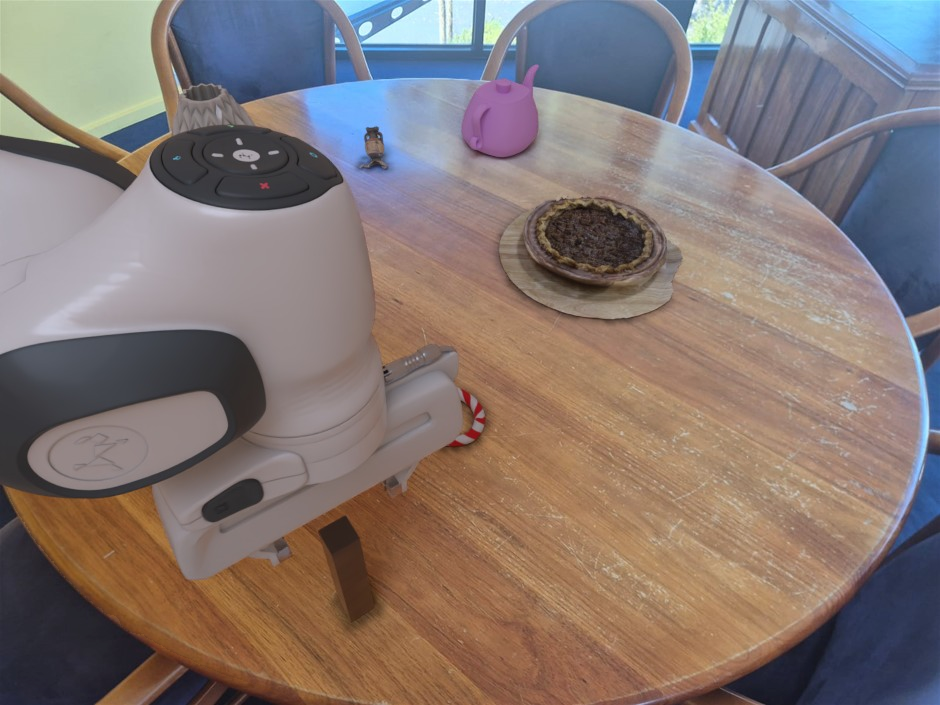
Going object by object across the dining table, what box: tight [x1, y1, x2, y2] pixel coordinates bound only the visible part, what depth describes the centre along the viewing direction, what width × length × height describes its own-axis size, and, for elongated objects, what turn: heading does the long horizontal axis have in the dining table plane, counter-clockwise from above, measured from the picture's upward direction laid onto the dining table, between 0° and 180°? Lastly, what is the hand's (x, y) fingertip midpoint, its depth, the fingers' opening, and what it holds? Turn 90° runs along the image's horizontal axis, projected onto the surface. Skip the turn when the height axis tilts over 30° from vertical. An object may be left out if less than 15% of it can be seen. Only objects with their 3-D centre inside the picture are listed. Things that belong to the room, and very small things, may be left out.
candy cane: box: [447, 385, 486, 447], centre depth 73 cm, size 8×1×15 cm
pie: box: [498, 195, 683, 320], centre depth 93 cm, size 28×27×5 cm
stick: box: [317, 514, 375, 623], centre depth 53 cm, size 2×2×14 cm
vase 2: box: [358, 126, 390, 170], centre depth 109 cm, size 5×5×6 cm
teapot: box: [460, 64, 540, 158], centre depth 113 cm, size 20×13×12 cm, turn 144°
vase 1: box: [170, 82, 257, 137], centre depth 94 cm, size 16×16×18 cm
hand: (339, 519), depth 46 cm, fingers open, 8 cm apart
